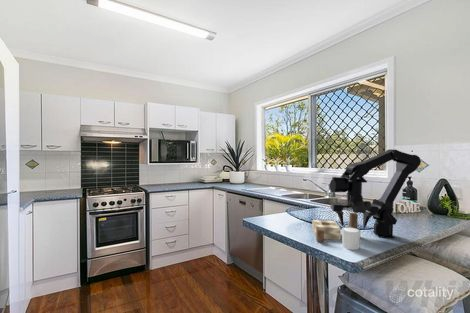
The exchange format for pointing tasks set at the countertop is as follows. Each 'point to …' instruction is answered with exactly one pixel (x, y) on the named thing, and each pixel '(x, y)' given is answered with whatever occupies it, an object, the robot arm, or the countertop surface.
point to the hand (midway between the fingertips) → (353, 226)
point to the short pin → (319, 235)
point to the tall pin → (353, 220)
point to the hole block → (327, 228)
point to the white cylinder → (351, 238)
